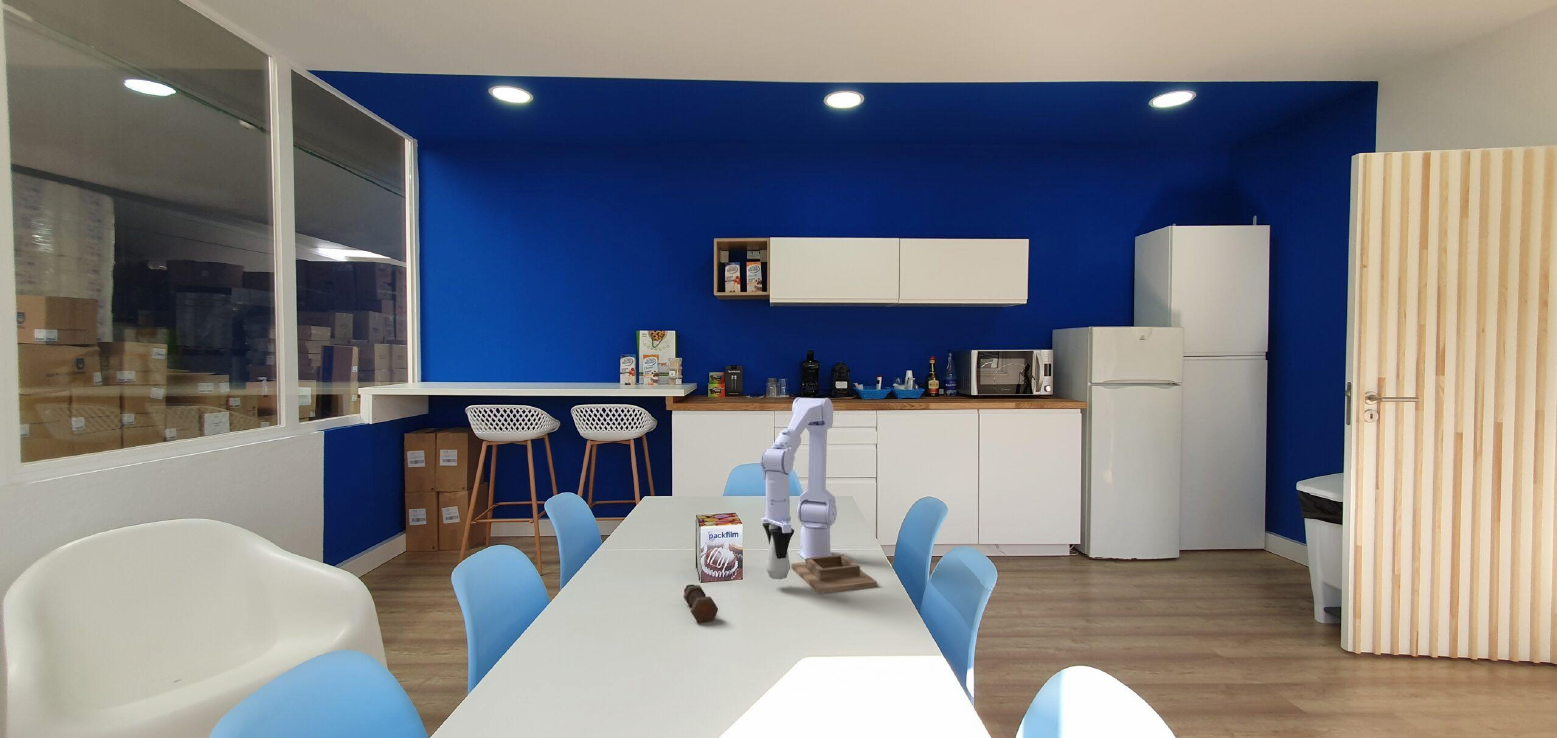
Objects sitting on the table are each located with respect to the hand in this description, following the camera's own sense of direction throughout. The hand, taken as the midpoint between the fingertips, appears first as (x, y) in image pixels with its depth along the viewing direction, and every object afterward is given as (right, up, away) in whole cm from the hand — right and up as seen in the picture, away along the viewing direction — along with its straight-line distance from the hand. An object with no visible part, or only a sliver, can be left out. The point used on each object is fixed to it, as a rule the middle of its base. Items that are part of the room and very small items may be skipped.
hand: (778, 555), depth 164 cm
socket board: (+13, -7, +7) cm, 17 cm away
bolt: (-18, -9, -13) cm, 24 cm away
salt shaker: (0, -5, 0) cm, 5 cm away
